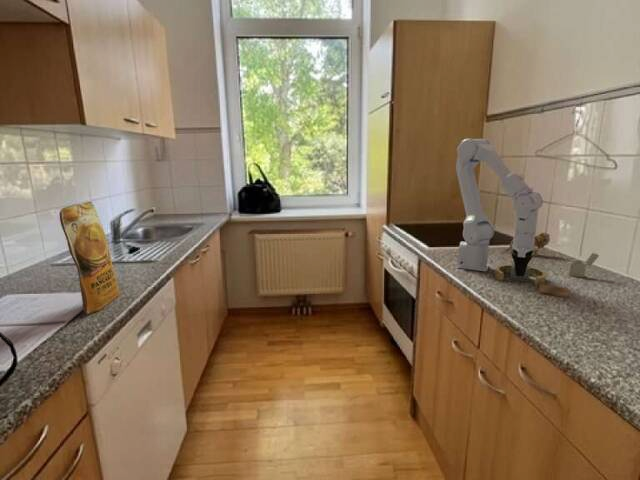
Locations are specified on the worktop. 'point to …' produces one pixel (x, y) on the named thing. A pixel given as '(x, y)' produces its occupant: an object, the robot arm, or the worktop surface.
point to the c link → (520, 278)
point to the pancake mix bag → (90, 255)
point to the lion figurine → (536, 242)
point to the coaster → (553, 290)
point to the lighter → (581, 266)
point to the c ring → (535, 272)
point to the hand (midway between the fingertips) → (520, 273)
